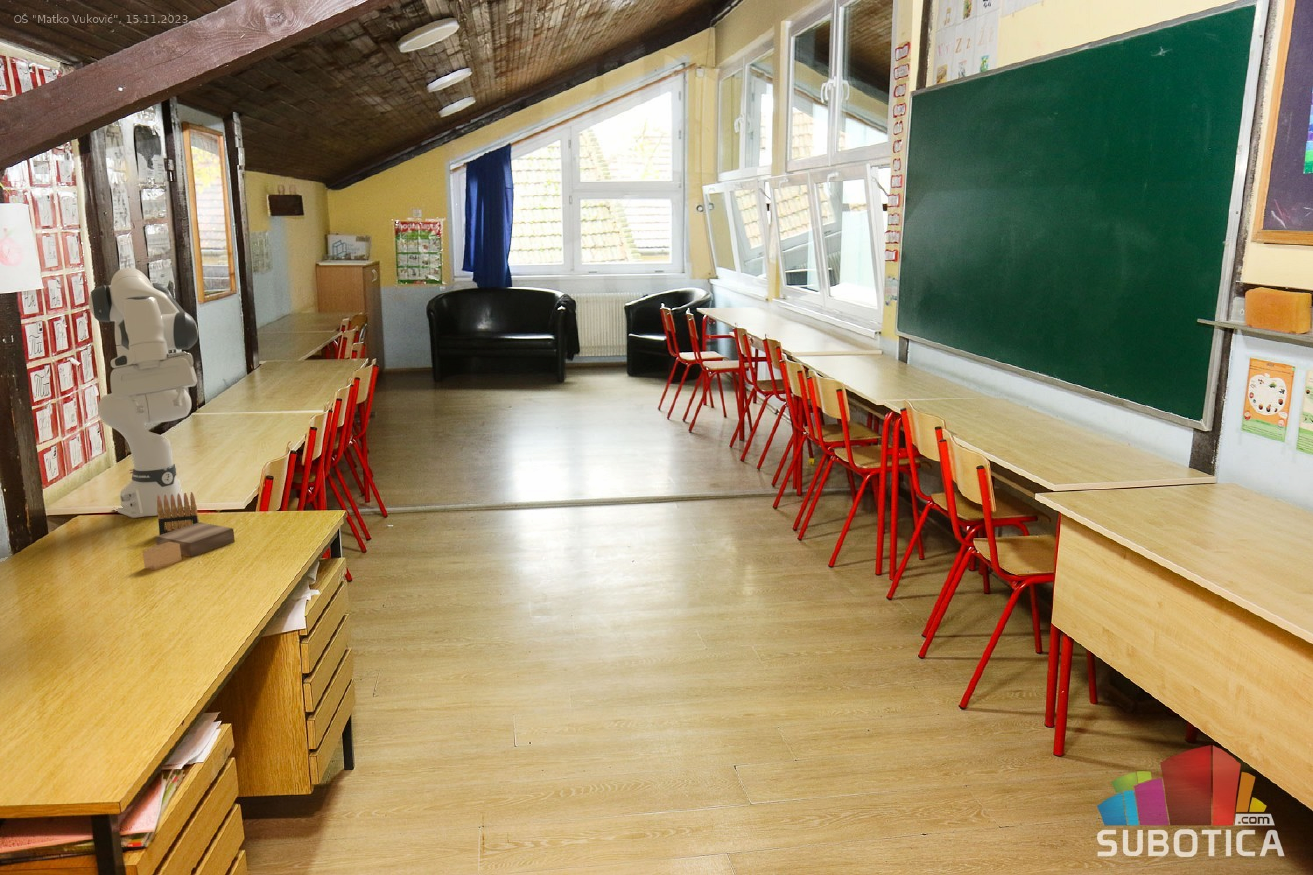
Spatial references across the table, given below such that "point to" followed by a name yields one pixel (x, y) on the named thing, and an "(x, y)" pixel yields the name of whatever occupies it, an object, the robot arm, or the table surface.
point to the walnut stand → (198, 538)
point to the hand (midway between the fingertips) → (159, 409)
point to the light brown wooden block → (162, 555)
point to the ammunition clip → (176, 513)
